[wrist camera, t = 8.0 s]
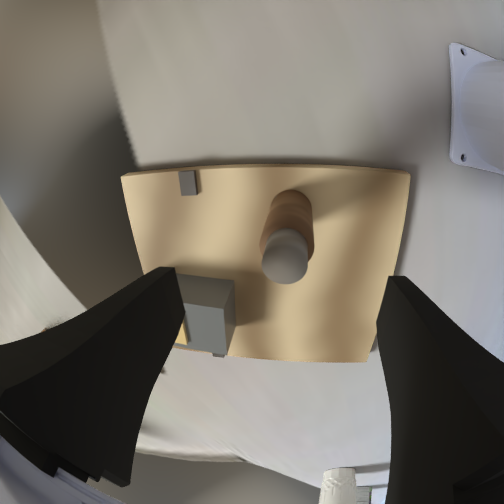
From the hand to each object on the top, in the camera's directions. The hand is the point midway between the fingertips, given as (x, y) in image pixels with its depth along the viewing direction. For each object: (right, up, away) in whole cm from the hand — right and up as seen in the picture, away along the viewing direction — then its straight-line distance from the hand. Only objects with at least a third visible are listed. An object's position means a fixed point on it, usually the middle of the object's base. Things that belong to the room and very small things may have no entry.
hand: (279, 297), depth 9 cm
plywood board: (0, 0, +11) cm, 11 cm away
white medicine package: (+17, -44, +33) cm, 58 cm away
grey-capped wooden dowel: (+1, +4, +7) cm, 8 cm away
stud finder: (-5, -2, +12) cm, 13 cm away
